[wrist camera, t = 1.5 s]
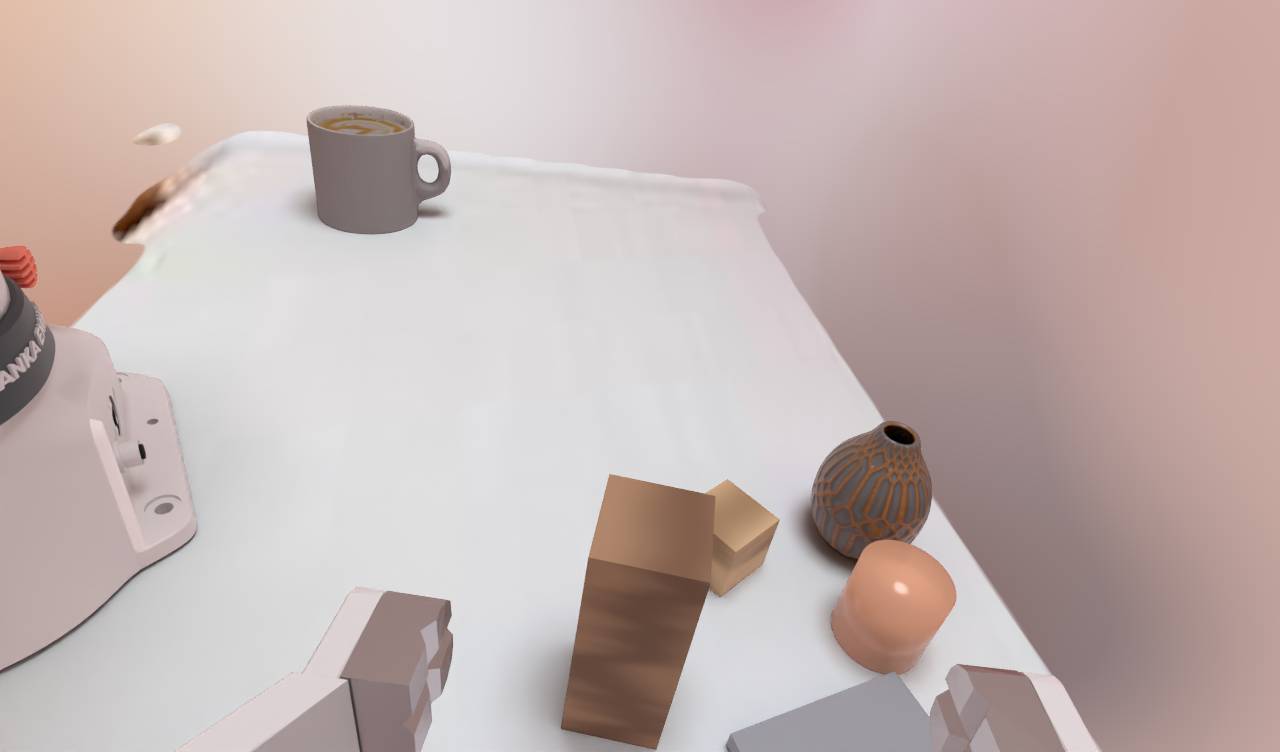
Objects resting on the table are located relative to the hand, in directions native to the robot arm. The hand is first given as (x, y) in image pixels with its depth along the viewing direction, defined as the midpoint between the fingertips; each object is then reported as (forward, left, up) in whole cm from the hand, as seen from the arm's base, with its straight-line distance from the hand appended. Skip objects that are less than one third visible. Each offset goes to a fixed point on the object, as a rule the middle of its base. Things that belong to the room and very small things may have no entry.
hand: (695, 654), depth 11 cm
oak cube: (-16, +15, -22) cm, 31 cm away
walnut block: (-10, +6, -22) cm, 25 cm away
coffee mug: (-68, +2, -22) cm, 72 cm away
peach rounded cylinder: (-9, +21, -22) cm, 32 cm away
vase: (-16, +24, -22) cm, 36 cm away
